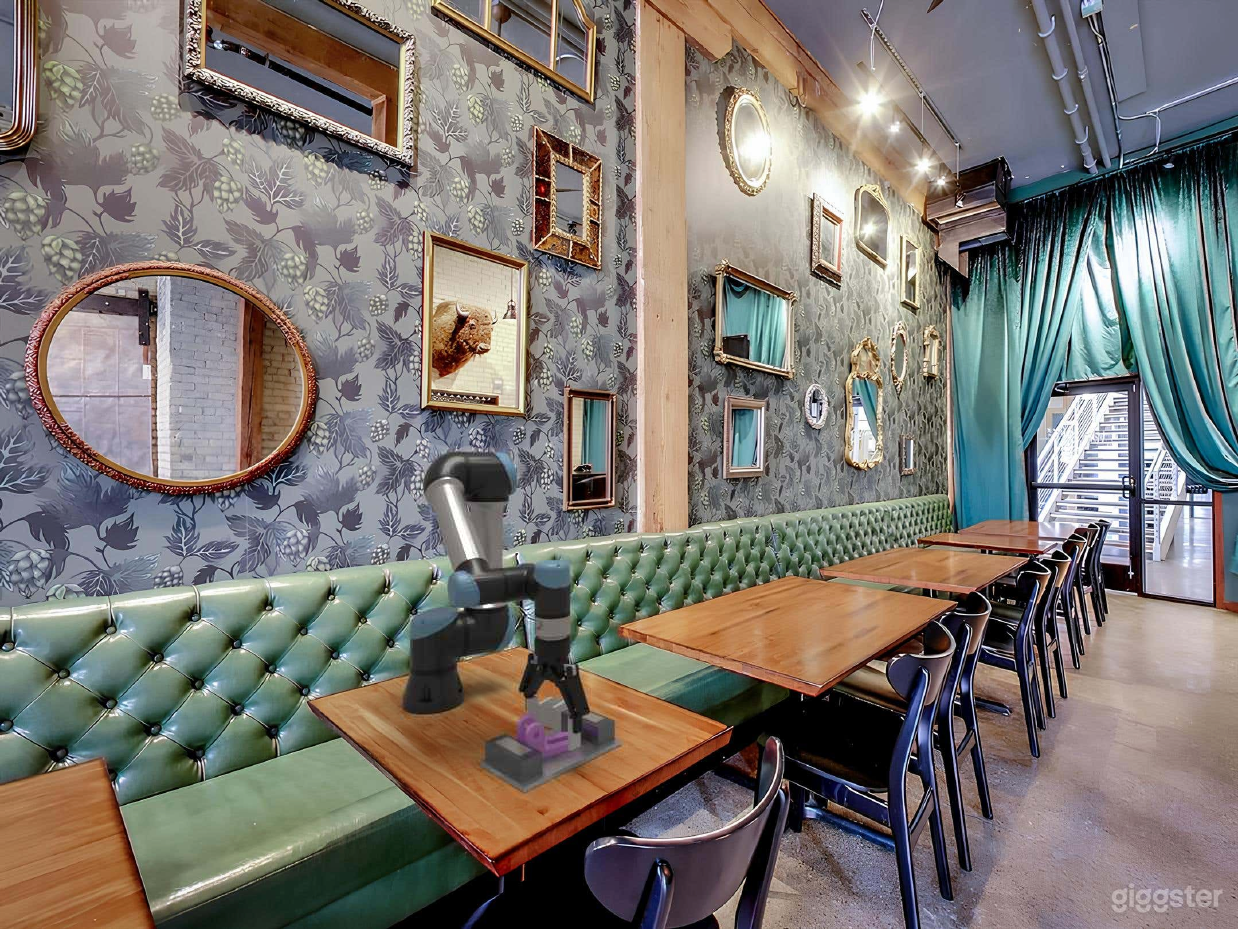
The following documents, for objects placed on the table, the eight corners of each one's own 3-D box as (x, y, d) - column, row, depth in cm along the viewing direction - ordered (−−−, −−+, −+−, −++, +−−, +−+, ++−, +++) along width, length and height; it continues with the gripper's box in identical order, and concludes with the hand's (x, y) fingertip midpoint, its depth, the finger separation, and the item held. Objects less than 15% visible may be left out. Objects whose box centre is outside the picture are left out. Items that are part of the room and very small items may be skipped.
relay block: (537, 725, 136) (537, 703, 136) (550, 717, 140) (550, 695, 140) (555, 729, 133) (555, 707, 134) (567, 721, 138) (567, 699, 138)
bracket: (527, 762, 115) (527, 727, 115) (516, 751, 120) (516, 717, 120) (584, 746, 122) (584, 712, 122) (572, 736, 127) (572, 704, 127)
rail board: (478, 765, 117) (478, 739, 117) (574, 724, 136) (574, 702, 136) (524, 793, 107) (524, 764, 107) (621, 745, 125) (621, 720, 126)
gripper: (502, 628, 128) (502, 725, 127) (579, 651, 110) (579, 764, 110) (530, 621, 133) (530, 715, 133) (607, 643, 116) (607, 750, 115)
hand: (552, 737), depth 121 cm, fingers open, 13 cm apart
